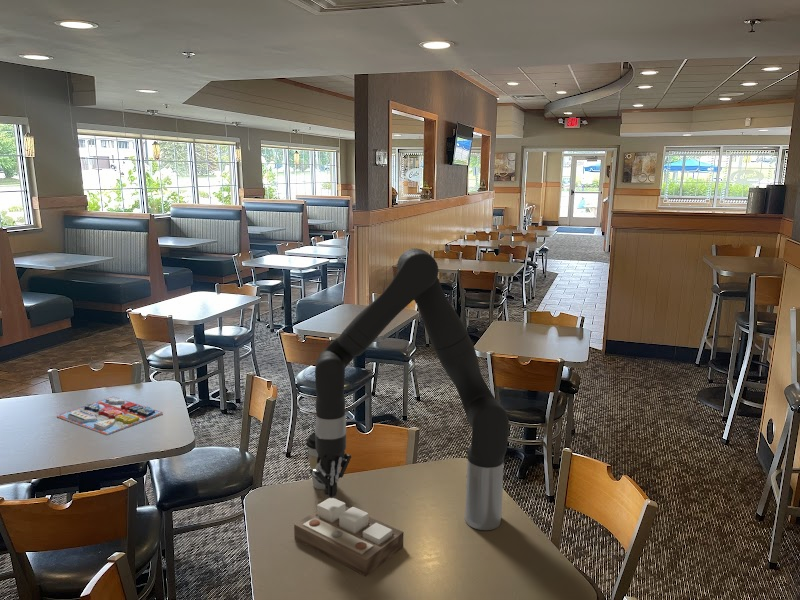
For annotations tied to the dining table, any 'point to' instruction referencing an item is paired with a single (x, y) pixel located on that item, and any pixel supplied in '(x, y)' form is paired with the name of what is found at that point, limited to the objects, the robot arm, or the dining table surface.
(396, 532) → the button panel
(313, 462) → the coffee cup
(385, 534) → the button
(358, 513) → the button
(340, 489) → the dining table surface
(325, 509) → the button
